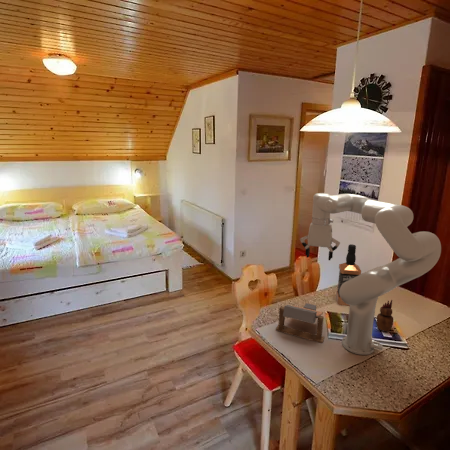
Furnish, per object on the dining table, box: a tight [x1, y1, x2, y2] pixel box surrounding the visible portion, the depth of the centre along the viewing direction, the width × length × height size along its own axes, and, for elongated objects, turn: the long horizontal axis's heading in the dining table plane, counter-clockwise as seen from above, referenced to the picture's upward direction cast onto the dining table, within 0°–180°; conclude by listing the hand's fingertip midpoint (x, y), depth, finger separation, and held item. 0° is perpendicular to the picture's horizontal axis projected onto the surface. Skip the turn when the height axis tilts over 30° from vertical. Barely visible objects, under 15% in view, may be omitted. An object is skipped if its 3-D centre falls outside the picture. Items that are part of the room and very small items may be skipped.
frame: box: [275, 305, 325, 344], centre depth 143 cm, size 21×4×11 cm, turn 62°
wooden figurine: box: [376, 299, 394, 332], centre depth 146 cm, size 7×6×15 cm
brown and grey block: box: [283, 304, 324, 324], centre depth 146 cm, size 14×19×4 cm
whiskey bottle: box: [335, 243, 362, 307], centre depth 170 cm, size 10×10×32 cm
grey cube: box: [302, 302, 317, 311], centre depth 157 cm, size 5×6×6 cm
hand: (318, 258), depth 146 cm, fingers open, 9 cm apart
